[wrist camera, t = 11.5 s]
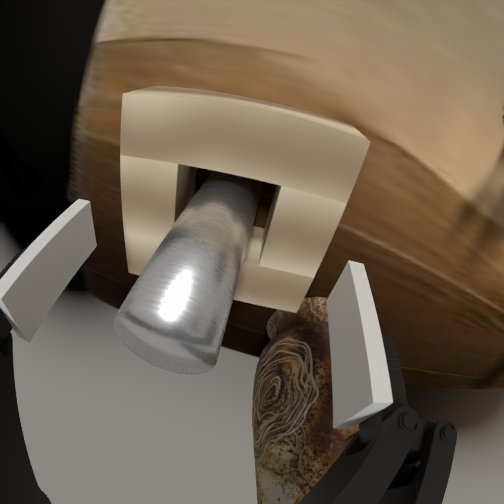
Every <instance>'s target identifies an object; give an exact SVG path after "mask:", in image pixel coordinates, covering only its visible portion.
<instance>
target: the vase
mask: <svg viewBox="0 0 504 504" xmlns="http://www.w3.org/2000/svg"><path fill="white" fill-rule="evenodd" d="M327 299H328V298H325V297H309V298H304V299H303V301H302V303H301V305H300V307H299V309H298V311H297V313H294V312H289V311H284V310H280V309H277V310H276V311H275V312H274V313H273V314H272V316H271V317H270V318H269V320H268V323H267V331H268V336H269V337H270V338H271V341H270V342H269V343H268V344H267V346H266V347H265V348H264V350H263V351H262V353H261V356H260V358H259V362H258V365H257V369H256V374H255V380H254V391H253V409H252V410H253V411H252V421H253V422H252V425H253V441H254V442H253V443H254V457H255V468H256V469H255V470H256V485H257V499H258V504H298V503H299V501H300V500H301V499H302V498H303V497H304V496H305V495H306V494H307V493H308V492H309V491H310V490H311V489H312V488H313V487H314V486H315V484H316V483H317V482H318V481H319V480H320V479H321V478H322V477H323V475H324V474H325V473H326V472H327V471H328V469H329V468H330V467H331V466H332V465H333V463H334V462H335V461H336V460H337V458H338V457H339V456H340V454H341V453H342V452H343V451H344V449H345V448H346V447H347V445H348V444H349V443H350V441H351V440H352V439H351V440H348V441H347V440H346V439H347V438H348V437H349V436H350V435H352V434H354V433H356V432H358V431H359V424H358V425H356V426H355V427H353V428H351V429H335V428H333V392H332V368H331V351H330V337H329V324H328V313H327V302H326V301H327Z"/></svg>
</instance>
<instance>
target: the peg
mask: <svg viewBox="0 0 504 504" xmlns="http://www.w3.org/2000/svg"><path fill="white" fill-rule="evenodd" d="M261 195H262V183H261V181H260V180H255V179H251V178H247V177H242V176H238V175H233V174H228V173H223V172H219V171H214V170H213V172H212V173H211V174H210V175H209V177H208V178H207V179H206V181H205V182H204V183H203V185H202V186H201V187H200V189H199V190H198V191H197V193H196V194H195V195H194V197H193V198H192V199H191V201H190V202H189V204H188V205H187V206H186V208H185V209H184V211H183V212H182V213H181V215H180V216H179V218H178V219H177V220H176V222H175V223H174V225H173V226H172V228H171V229H170V230H169V232H168V233H167V235H166V236H165V238H164V239H163V241H162V242H161V244H160V245H159V247H158V248H157V250H156V251H155V253H154V254H153V256H152V257H151V259H150V260H149V262H148V264H147V265H146V267H145V268H144V270H143V271H142V273H141V275H140V276H139V278H138V279H137V281H136V283H135V284H134V286H133V287H132V289H131V291H130V292H129V294H128V296H127V297H126V299H125V301H124V302H123V304H122V306H121V308H120V309H119V311H118V313H117V314H116V316H115V318H114V329H115V332H116V334H117V335H118V337H119V339H120V340H121V341H122V342H123V344H124V345H125V346H126V347H127V348H128V349H130V350H131V351H132V352H133V353H135V354H136V355H137V356H139V357H140V358H142V359H143V360H145V361H147V362H149V363H151V364H153V365H155V366H157V367H160V368H163V369H165V370H168V371H172V372H176V373H182V374H200V373H205V372H208V371H210V370H211V369H212V368H213V367H214V366H215V364H216V362H217V358H218V354H219V350H220V347H221V343H222V339H223V335H224V332H225V328H226V324H227V320H228V317H229V313H230V309H231V305H232V302H233V298H234V294H235V290H236V287H237V283H238V279H239V276H240V272H241V268H242V264H243V261H244V257H245V253H246V250H247V246H248V242H249V239H250V235H251V231H252V228H253V224H254V220H255V217H256V213H257V209H258V206H259V202H260V198H261Z"/></svg>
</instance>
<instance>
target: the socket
mask: <svg viewBox="0 0 504 504" xmlns="http://www.w3.org/2000/svg"><path fill="white" fill-rule="evenodd" d="M369 145H370V141H369V140H368V139H366V138H365V137H364V136H363V135H362V134H361V133H360V132H359V131H358V130H357V129H356V128H354V127H353V126H352V125H350V124H347V123H344V122H341V121H338V120H335V119H332V118H329V117H325V116H322V115H319V114H315V113H312V112H308V111H305V110H301V109H298V108H294V107H290V106H286V105H282V104H278V103H273V102H269V101H264V100H260V99H255V98H250V97H244V96H239V95H233V94H227V93H221V92H214V91H206V90H198V89H189V88H179V87H166V86H154V87H149V88H144V89H140V90H136V91H131V92H127V93H124V94H123V99H122V114H121V144H120V166H121V196H122V213H123V225H124V236H125V246H126V254H127V262H128V269H129V273H132V274H136V275H139V276H140V275H141V273H142V271H143V270H144V268H145V267H146V265H147V264H148V262H149V260H150V259H151V257H152V256H153V254H154V253H155V251H156V250H157V248H158V247H159V245H160V244H161V242H162V241H163V239H164V238H165V236H166V235H167V233H168V232H169V230H170V229H171V228H172V226H173V225H174V223H175V222H176V220H177V219H178V218H179V216H180V215H181V213H182V212H183V211H184V209H185V208H186V206H187V205H188V204H189V202H190V201H191V199H192V198H193V197H194V193H195V183H196V175H197V167H198V168H203V169H209V170H214V171H219V172H223V173H228V174H233V175H238V176H242V177H247V178H251V179H255V180H260V181H264V182H268V183H272V184H276V187H275V191H274V195H273V198H272V202H271V206H270V209H269V213H268V217H267V220H266V224H265V228H260V227H255V226H253V228H252V231H251V235H250V239H249V242H248V246H247V250H246V253H245V257H244V261H243V264H242V268H241V272H240V276H239V279H238V283H237V287H236V290H235V294H234V298H233V299H234V300H238V301H242V302H247V303H251V304H256V305H261V306H265V307H270V308H275V309H280V310H284V311H289V312H294V313H297V311H298V309H299V307H300V305H301V303H302V301H303V299H304V297H305V295H306V293H307V291H308V289H309V287H310V285H311V283H312V281H313V279H314V276H315V274H316V272H317V270H318V268H319V266H320V264H321V261H322V259H323V257H324V255H325V253H326V251H327V248H328V246H329V244H330V242H331V239H332V237H333V235H334V233H335V230H336V228H337V226H338V223H339V221H340V219H341V216H342V214H343V212H344V209H345V207H346V204H347V202H348V200H349V197H350V195H351V192H352V190H353V187H354V185H355V182H356V180H357V177H358V174H359V172H360V169H361V167H362V164H363V161H364V159H365V156H366V153H367V151H368V148H369Z"/></svg>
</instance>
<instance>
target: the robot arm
mask: <svg viewBox="0 0 504 504" xmlns="http://www.w3.org/2000/svg"><path fill="white" fill-rule="evenodd" d="M96 246H97V244H96V238H95V232H94V226H93V220H92V213H91V205H90V201H86V200H81V199H78V200H77V201H76V202H75V203H73V204H72V205H71V206H70V207H69V208H68V209H67V210H66V211H65V212H63V213H62V214H61V215H60V216H59V217H58V218H57V219H56V220H55V221H54V222H53V223H52V224H51V225H50V226H49V227H48V228H47V229H46V230H45V231H44V232H43V233H42V234H41V235H40V236H39V237H38V238H37V239H36V240H35V241H34V242H33V243H32V244H31V245H30V246H29V247H28V248H27V247H26V248H25V249H23V250H22V251H20V252H19V253H17V254H16V255H15V257H14V258H13V259H12V260H11V262H10V263H8V265H7V266H6V267H5V269H3V270H2V272H1V273H0V504H51V502H50V500H49V498H48V497H47V496H46V494H45V493H44V492H42V491H41V489H40V488H39V486H38V484H37V481H36V479H35V476H34V473H33V470H32V466H31V463H30V460H29V457H28V453H27V449H26V445H25V442H24V437H23V432H22V427H21V422H20V417H19V411H18V405H17V398H16V390H15V381H14V368H13V347H12V346H13V344H12V334H11V333H10V331H11V330H12V328H13V329H14V330H15V332H16V333H17V335H18V336H19V337H21V338H23V339H24V340H26V341H28V342H30V341H31V339H32V337H33V336H34V334H35V332H36V331H37V329H38V328H39V326H40V324H41V323H42V321H43V319H44V318H45V316H46V315H47V313H48V312H49V310H50V309H51V307H52V306H53V304H54V303H55V301H56V299H57V298H58V297H59V295H60V294H61V292H62V291H63V290H64V288H65V287H66V286H67V284H68V283H69V281H70V280H71V279H72V277H73V276H74V275H75V273H76V272H77V271H78V269H79V268H80V267H81V265H82V264H83V263H84V261H85V260H86V259H87V258H88V256H89V255H90V254H91V253H92V251H93V250H94V249H95V248H96ZM326 302H327V313H328V324H329V337H330V351H331V368H332V392H333V428H335V429H351V428H353V427H355V426H356V425H358V424H359V431H358V432H356V433H354V434H352V435H350V436H349V437H348V438H347V439H346V440H347V441H348V440H351V439H352V440H351V441H350V443H349V444H348V445H347V447H346V448H345V449H344V451H343V452H342V453H341V454H340V456H339V457H338V458H337V460H336V461H335V462H334V463H333V465H332V466H331V467H330V468H329V469H328V471H327V472H326V473H325V474H324V475H323V477H322V478H321V479H320V480H319V481H318V482H317V483H316V484H315V486H314V487H313V488H312V489H311V490H310V491H309V492H308V493H307V494H306V495H305V496H304V497H303V498H302V499H301V500H300V501H299V503H298V504H442V501H443V497H444V494H445V490H446V487H447V483H448V479H449V475H450V471H451V466H452V461H453V456H454V451H455V445H456V439H457V431H456V428H455V426H454V424H453V423H452V422H451V421H450V420H448V419H443V420H441V421H439V422H437V423H435V424H434V423H431V422H428V421H424V420H422V419H419V417H418V414H417V413H416V412H415V411H414V410H413V409H412V408H410V407H409V406H408V402H407V397H406V391H405V385H404V380H403V374H402V370H401V364H400V361H399V355H398V350H397V347H396V345H395V343H394V342H393V340H392V338H391V337H390V336H382V335H381V331H380V326H379V322H378V318H377V313H376V309H375V305H374V301H373V297H372V293H371V290H370V286H369V282H368V278H367V275H366V271H365V268H364V264H362V263H358V262H354V261H350V260H349V261H348V262H347V264H346V266H345V268H344V270H343V272H342V274H341V276H340V277H339V279H338V281H337V283H336V285H335V287H334V288H333V290H332V292H331V294H330V295H329V297H328V299H327V301H326ZM419 461H420V462H419Z"/></svg>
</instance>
